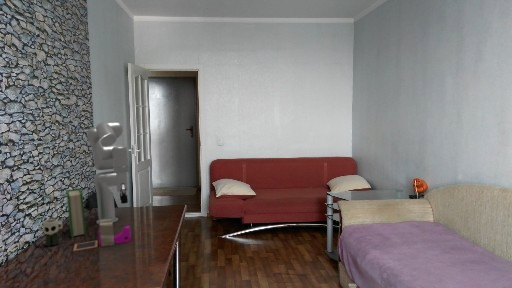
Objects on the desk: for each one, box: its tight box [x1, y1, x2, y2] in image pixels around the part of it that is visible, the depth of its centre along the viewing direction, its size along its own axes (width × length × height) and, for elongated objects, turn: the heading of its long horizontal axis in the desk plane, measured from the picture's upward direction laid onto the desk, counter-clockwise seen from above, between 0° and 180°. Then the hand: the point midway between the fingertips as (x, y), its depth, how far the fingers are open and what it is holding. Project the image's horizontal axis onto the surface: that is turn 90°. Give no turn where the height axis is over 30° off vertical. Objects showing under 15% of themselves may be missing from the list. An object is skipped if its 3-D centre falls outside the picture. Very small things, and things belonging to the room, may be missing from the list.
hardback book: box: [66, 188, 87, 239], centre depth 208 cm, size 18×7×24 cm, turn 30°
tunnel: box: [99, 218, 115, 247], centre depth 189 cm, size 12×6×11 cm, turn 23°
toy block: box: [98, 225, 132, 247], centre depth 190 cm, size 15×6×8 cm, turn 107°
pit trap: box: [72, 239, 99, 252], centre depth 185 cm, size 10×11×1 cm
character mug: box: [38, 218, 64, 247], centre depth 190 cm, size 11×7×13 cm, turn 111°
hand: (124, 201), depth 191 cm, fingers open, 9 cm apart
